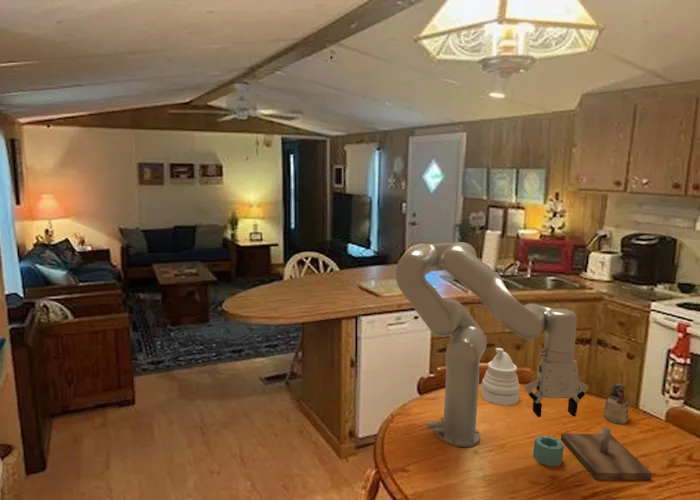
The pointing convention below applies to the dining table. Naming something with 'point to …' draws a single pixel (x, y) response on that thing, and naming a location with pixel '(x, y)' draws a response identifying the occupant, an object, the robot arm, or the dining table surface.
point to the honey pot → (501, 380)
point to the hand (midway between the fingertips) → (554, 414)
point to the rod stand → (605, 456)
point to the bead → (548, 450)
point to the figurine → (616, 406)
